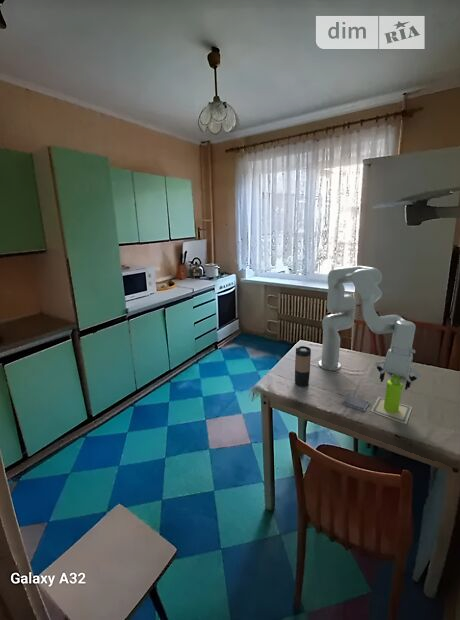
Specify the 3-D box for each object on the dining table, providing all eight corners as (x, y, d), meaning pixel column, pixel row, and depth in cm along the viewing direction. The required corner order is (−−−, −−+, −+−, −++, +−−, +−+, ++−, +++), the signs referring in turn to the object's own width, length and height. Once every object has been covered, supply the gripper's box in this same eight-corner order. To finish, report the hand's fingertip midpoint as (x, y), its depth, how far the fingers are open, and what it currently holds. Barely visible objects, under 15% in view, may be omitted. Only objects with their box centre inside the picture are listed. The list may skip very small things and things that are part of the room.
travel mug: (309, 388, 149) (311, 352, 143) (294, 386, 151) (295, 351, 145) (308, 380, 156) (310, 346, 151) (294, 379, 158) (295, 345, 152)
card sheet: (378, 397, 140) (378, 396, 140) (412, 407, 131) (412, 407, 131) (370, 411, 130) (370, 410, 130) (406, 424, 121) (406, 423, 121)
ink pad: (347, 396, 142) (347, 393, 141) (369, 403, 135) (369, 401, 135) (341, 403, 136) (342, 401, 135) (364, 412, 130) (364, 409, 129)
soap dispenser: (395, 415, 126) (401, 375, 120) (380, 407, 132) (386, 368, 126) (403, 411, 129) (410, 371, 123) (389, 403, 135) (395, 364, 129)
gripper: (426, 351, 119) (418, 387, 125) (380, 341, 130) (375, 374, 136) (423, 358, 114) (415, 395, 120) (376, 347, 125) (370, 381, 130)
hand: (394, 384), depth 128 cm, fingers open, 9 cm apart
